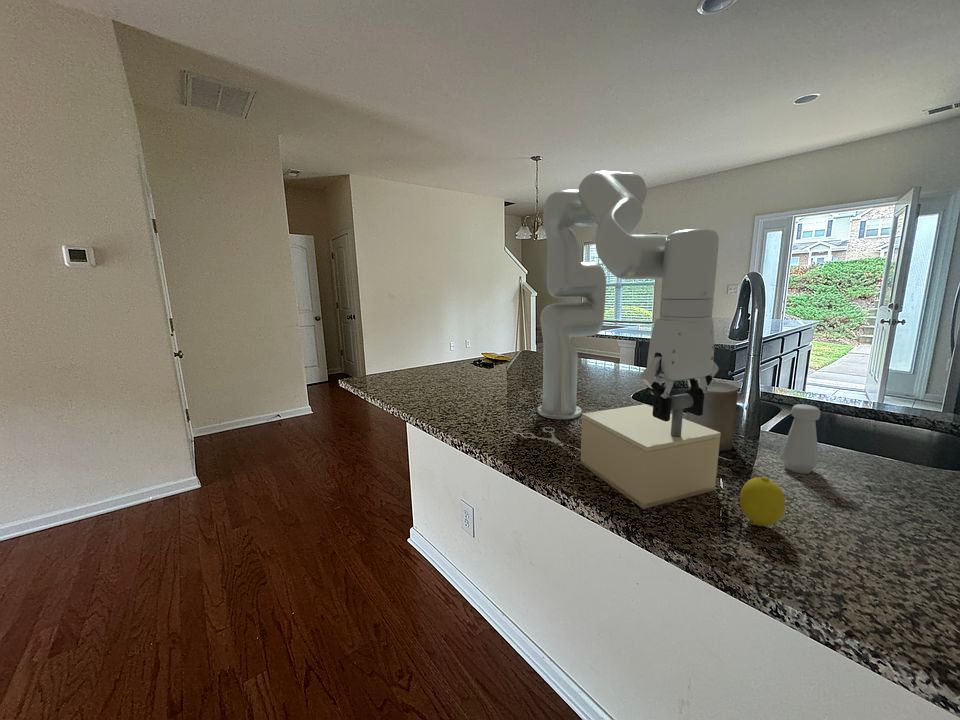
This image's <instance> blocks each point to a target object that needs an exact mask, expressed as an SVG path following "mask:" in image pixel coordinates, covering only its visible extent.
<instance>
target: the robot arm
mask: <svg viewBox="0 0 960 720" xmlns="http://www.w3.org/2000/svg"><path fill="white" fill-rule="evenodd" d="M646 199H647V185H646V182H645V180H644V179H643V177H642V176H641V175H640V174H638V173H635V172H628V171H627V172H626V171H610V170H599V171H594V172H591V173H589V174H587V175H586V176H585V177H584V178H583V179H582V181H581V182H580V184H579V186H578V189H565V190H564V189H563V190H557V191H554V192H553V193H550V195H548V197H547V198H546V200H545V203H544V206H543V211H542V224H543V229H544V234H545V238H546V243H547V244H546V245H547V255H546V256H547V258H546V259H547V260H546V262H547V263H546V265H547V266H546V288H547V293H548V294H549V295H550V296H551V297H553V298H559V299H570V298H571V299H572V298H574V299H575V298H576V299H577V298H578V299H579V298H581V299H582V302H581V301H580V302H555V303H551V304H549V305H548V304H547V306H545V307H544V308H543V309H542V310H541V312H540V317H539V320H540V322H539V323H540V329H541V337H542V348H543V349H542V350H543V351H542V352H543V353H542V356H543V357H542V359H543V361H542V362H543V366H542V367H543V368H542V369H543V372H542V374H543V375H542V394H541V395H540V396H539V397H540V399H541V400H542V404H540V405H539V406H538V407H537V414H539V415H540V416H541V417H543V418H547V419H552V420H572V419H577V418H579V417H580V416H582V414H583V411H582V408H581V407H580V406H578V405H577V395H578V393H577V391H578V362H579V361H578V358H579V357H578V351H577V348H576V346H575V345H574V344H573V342H572V341H571V338H575V337H591V336H592V337H593V336H596V335H598V334H599V333H600V332H601V330H602V329H603V327H604V322H605V321H604V320H605V308H606V306H605V305H606V295H607V293H606V291H607V278H606V277H607V276H606V273H605V270H604V268H603V267H602V266H601V264H599V263H597V262H592V261H591V262H590V261H581V259H580V258H581V257H580V256H581V255H580V254H581V243H580V240H579V238H578V237H577V234H576V233H575V231H574V230H573V229H572V228H571V227H578V228H579V227H580V228H597V229H596V232H595V249H596V254H597V256H598V258H599V259H600V262H602V264H603V265H604V267H606V269H607V270H608V272H610V273H611V274H612V275H614V277H616V278H619V279H622V280H649V279H650V280H661V291H660V292H661V295H660V307H659V308H660V309H659V318H655V321H654V323H653V327H652V331H651V335H650V339H649V345H648V346H649V347H648V354H647V363H646V367H645V368H644V370H643V371H642V373H641V374H640V375H639V376H640V379H641V381H643V383H644V384H645V385H646V388H647V389H649V391H650V394H651V395H653V399H652V400H653V403H652V407H653V417H655V418H658V419H660V420H663V421H665V422H666V421H669V420H670V414H671V412H672V410H671V398H669V397H668V396H670V394H671V391H672V389H673V386H674V384H675V382H680V381H687V384H689V385H688V388H687V389H685V394H690V395H691V396H692V398H693V405H692V406H691V407H689V408H684V411H685V412H686V413H687V412H689V413H692V414H695V415H697V416H701V415H702V414H703V404H704V393H706V392H707V391H708V385H709V384H710V382H711V381H712V382H713V378H714V377H715V375H716V374H718V372H719V369H720V368H719V365H717V363H716V362H715V361H714V360H715V359H714V357H715V355H714V354H715V330H714V329H715V327H714V320H713V319H714V318H713V309H714V301H715V299H714V298H715V289H716V287H715V286H716V280H717V279H716V277H717V276H716V275H717V269H718V268H717V267H718V266H717V265H718V255H719V245H720V244H719V243H720V242H719V241H720V238H719V234H718V232H717V231H716V230H714V229H710V228H692V229H681V230H677V231H674V232H671V233H669V234H630V233H631V232H632V231H633V230H635V229H636V227H638V225H639V223H640V222H641V219H642V217H643V205H644V203H645V201H646ZM663 382H664V385H663V386H662V384H663ZM689 388H690V389H689ZM703 392H704V393H703Z"/></svg>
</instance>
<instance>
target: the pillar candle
mask: <svg viewBox="0 0 960 720" xmlns="http://www.w3.org/2000/svg"><path fill="white" fill-rule="evenodd" d="M687 384H688V383H687ZM687 386H689V384H688V385H687ZM688 389H690V388H689V387H688ZM738 392H739V388H738V387H737V386H736V385H733V384H732V383H726V382H721V381H716V380H712V381H711V382H710V384H709V385H708V391H707V392H706V393H704V392H703V393H704V404H703V414H702V415H701V416H697V415H695V414H692V413H689V412H686V418H685V419H686V420H688V421H691V422H694V423H696V424H699V425H702V426H704V427H707V428H709V429H712V430H715V431H717V432H720V433H721V435H720V445H719V452H725V451H730V450H732V449H733V448H734V446H733V444H734V437H735V427H736V419H737V417H736V416H737V408H738V407H737V405H738V404H737V403H738V395H739V394H738Z"/></svg>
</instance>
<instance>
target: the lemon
mask: <svg viewBox="0 0 960 720" xmlns="http://www.w3.org/2000/svg"><path fill="white" fill-rule="evenodd" d="M739 507H740V509H741V511H742V512H743V514H744V516H745V517H746V518H747V519H748V520H750V521H751V522H753V523H754V524H755V525H756V526H757V527H763V526H772V525H775V524H777V523H778V522H779V521H780V520H781V519H782V517H783V516H784V514H785V510H786V509H785V508H786V497H785V495H784V492H783V490H782V488H781V487H780V486H779V485H778V484H777V483H776V482H774V481H773V480H771V479H769V478H768V477H767V476H760V477H753V478H751V479H748V480H747V481H746V482H745V483H744V485H743V486H742V488H741V489H740V495H739Z"/></svg>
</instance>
